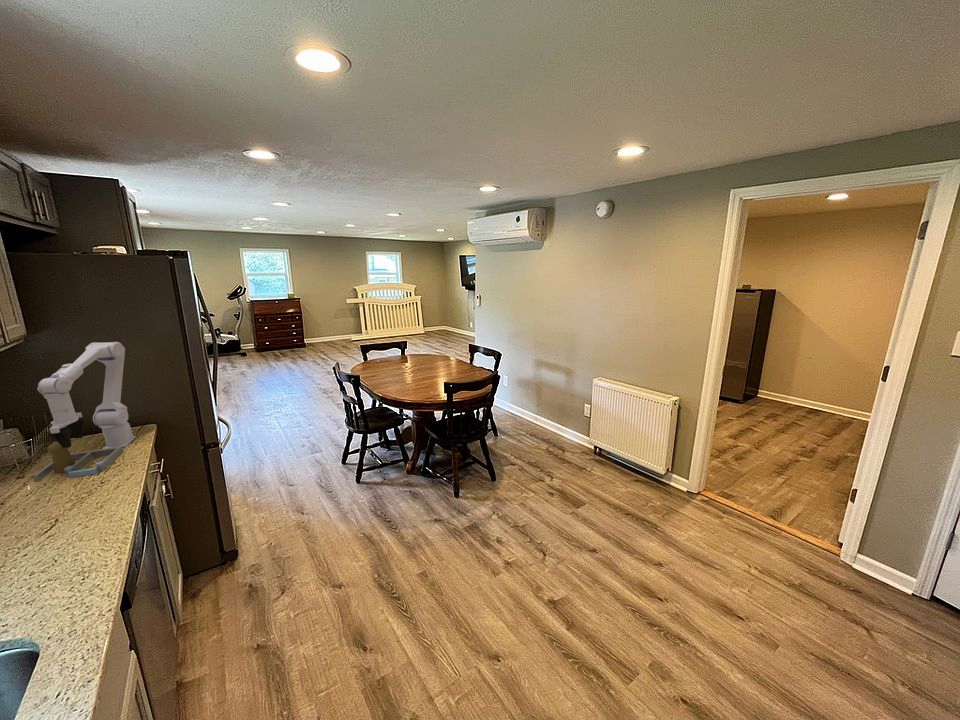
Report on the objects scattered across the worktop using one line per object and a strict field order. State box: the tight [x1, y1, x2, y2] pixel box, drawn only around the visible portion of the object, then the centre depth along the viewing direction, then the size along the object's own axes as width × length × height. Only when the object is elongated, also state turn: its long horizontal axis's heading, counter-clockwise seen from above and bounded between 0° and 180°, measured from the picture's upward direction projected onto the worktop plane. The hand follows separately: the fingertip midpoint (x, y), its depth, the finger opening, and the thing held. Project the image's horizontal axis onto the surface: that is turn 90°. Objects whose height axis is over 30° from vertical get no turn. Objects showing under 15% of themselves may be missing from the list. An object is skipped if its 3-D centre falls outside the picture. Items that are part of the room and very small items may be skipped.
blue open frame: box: [32, 447, 124, 483], centre depth 145 cm, size 16×19×3 cm
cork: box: [47, 441, 76, 474], centre depth 142 cm, size 6×6×11 cm
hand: (73, 442), depth 142 cm, fingers open, 7 cm apart
